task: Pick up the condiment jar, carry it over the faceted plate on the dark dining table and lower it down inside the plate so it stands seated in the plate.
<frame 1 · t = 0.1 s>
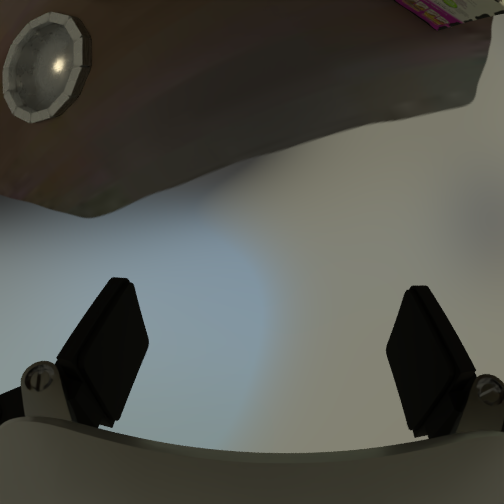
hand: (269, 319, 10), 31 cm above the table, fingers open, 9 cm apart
faceted plate: (47, 66, 32), on the table
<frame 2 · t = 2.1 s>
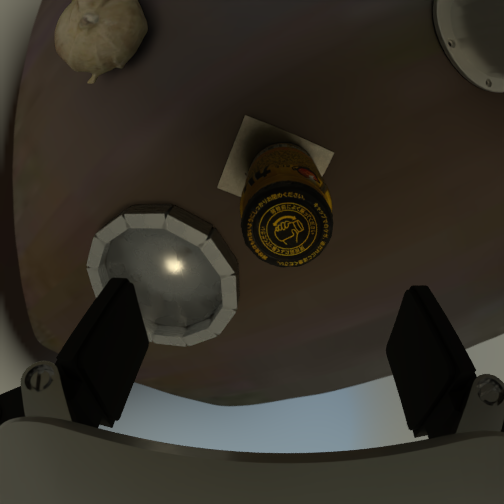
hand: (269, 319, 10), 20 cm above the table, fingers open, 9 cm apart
condiment: (274, 168, 28), on the table
garlic bulb: (123, 35, 22), on the table
faceted plate: (163, 276, 34), on the table
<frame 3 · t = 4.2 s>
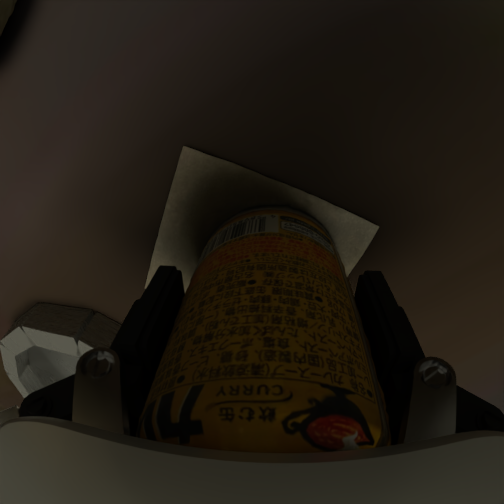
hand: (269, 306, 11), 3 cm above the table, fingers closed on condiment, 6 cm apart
condiment: (253, 256, 14), on the table, touching gripper
faceted plate: (105, 392, 20), on the table
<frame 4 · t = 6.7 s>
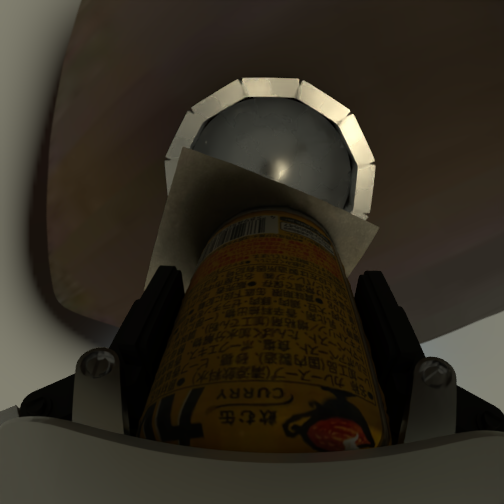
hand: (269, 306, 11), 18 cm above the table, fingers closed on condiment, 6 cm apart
condiment: (252, 257, 14), point 14 cm above the table, touching gripper
faceted plate: (270, 176, 26), on the table
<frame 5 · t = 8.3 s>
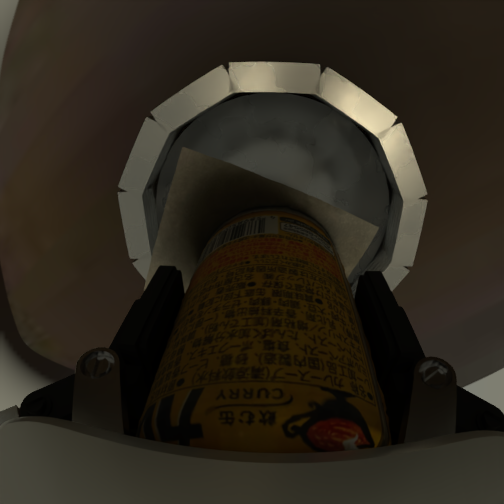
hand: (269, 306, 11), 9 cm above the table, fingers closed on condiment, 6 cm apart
condiment: (252, 257, 14), point 5 cm above the table, touching gripper
faceted plate: (272, 211, 18), on the table
when the fingers open (5 cm above the table, at t = 9.5 s): condiment drops 1 cm, resting on faceted plate.
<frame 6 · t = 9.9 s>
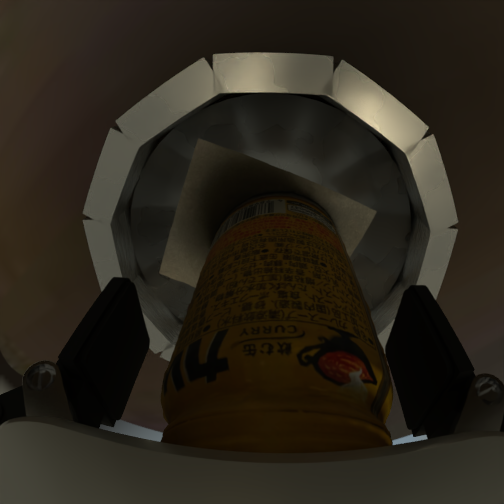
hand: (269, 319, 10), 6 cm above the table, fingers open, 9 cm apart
condiment: (261, 240, 15), resting on faceted plate
faceted plate: (270, 240, 15), on the table
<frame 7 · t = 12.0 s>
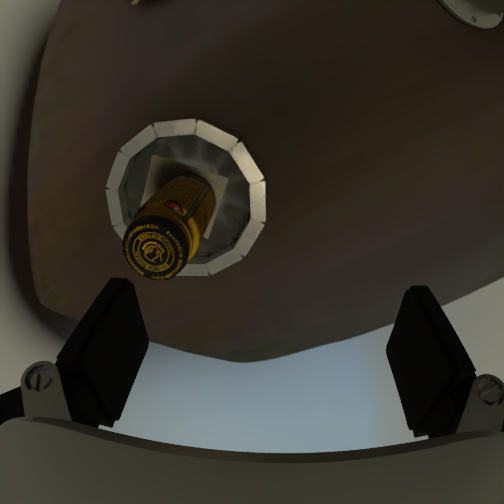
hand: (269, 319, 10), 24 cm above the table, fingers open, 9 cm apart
condiment: (181, 196, 33), resting on faceted plate
faceted plate: (186, 196, 33), on the table
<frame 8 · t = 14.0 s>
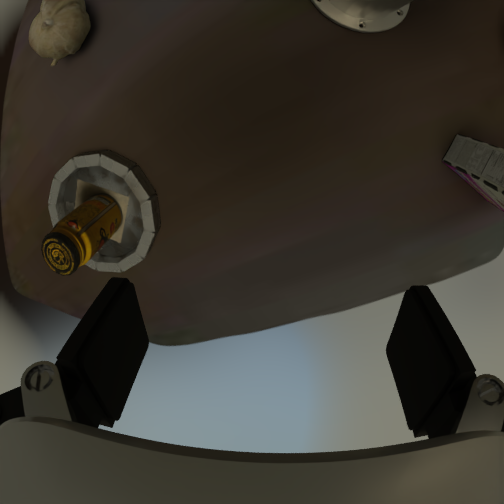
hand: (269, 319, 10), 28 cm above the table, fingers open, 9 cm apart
condiment: (100, 210, 39), resting on faceted plate
garlic bulb: (78, 32, 27), on the table
candy bar box: (473, 167, 33), on the table
faceted plate: (104, 210, 40), on the table
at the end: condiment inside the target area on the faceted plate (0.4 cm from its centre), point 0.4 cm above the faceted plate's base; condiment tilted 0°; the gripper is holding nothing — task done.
